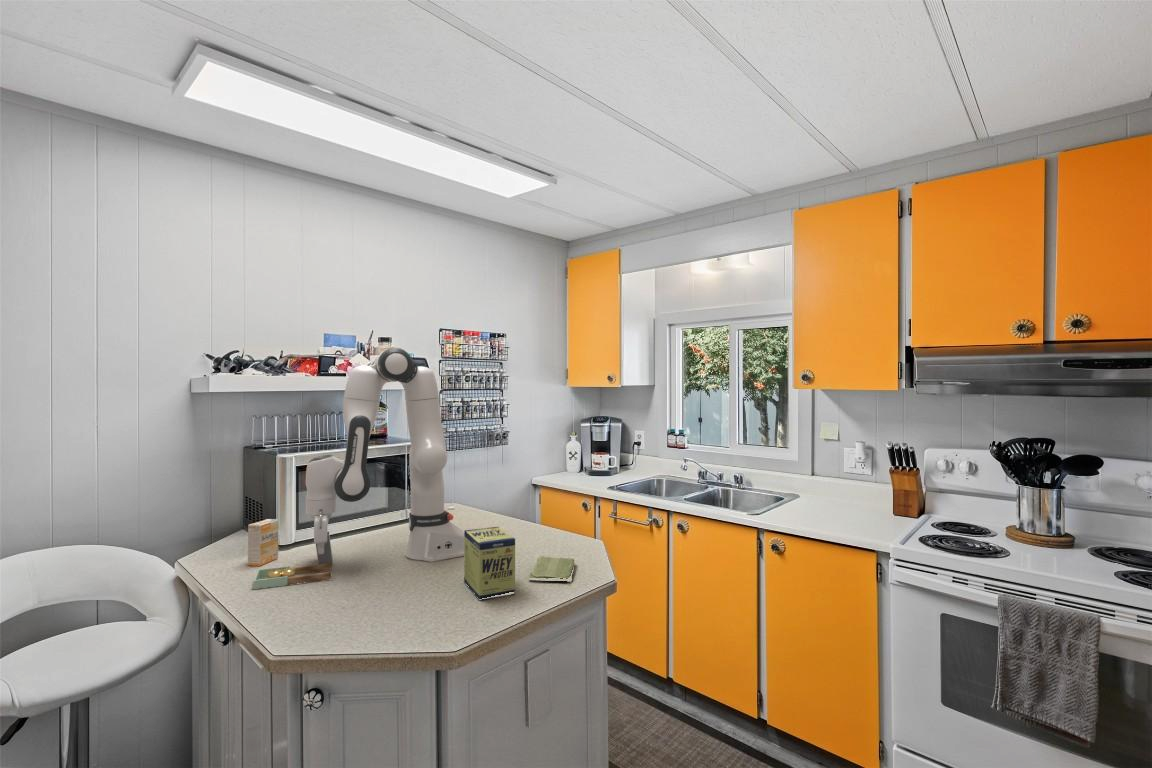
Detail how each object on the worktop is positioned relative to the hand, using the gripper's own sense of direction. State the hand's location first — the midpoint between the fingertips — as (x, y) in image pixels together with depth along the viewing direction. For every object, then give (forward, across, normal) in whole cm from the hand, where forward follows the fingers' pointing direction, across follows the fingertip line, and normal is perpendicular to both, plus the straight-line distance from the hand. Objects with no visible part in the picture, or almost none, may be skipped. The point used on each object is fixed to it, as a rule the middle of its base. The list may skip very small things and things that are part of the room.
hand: (321, 550), depth 175 cm
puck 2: (+5, -9, +9) cm, 13 cm away
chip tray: (+5, -9, +13) cm, 16 cm away
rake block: (+4, 0, -1) cm, 4 cm away
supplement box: (+5, +12, +17) cm, 22 cm away
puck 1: (+5, -9, +12) cm, 16 cm away
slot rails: (+5, -9, +3) cm, 11 cm away
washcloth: (+6, -34, -66) cm, 74 cm away
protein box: (+6, -39, -44) cm, 59 cm away
